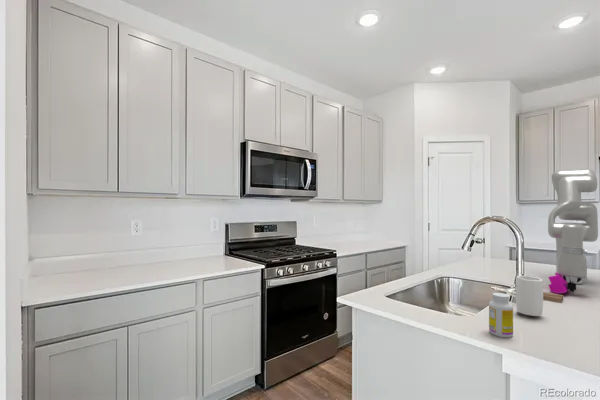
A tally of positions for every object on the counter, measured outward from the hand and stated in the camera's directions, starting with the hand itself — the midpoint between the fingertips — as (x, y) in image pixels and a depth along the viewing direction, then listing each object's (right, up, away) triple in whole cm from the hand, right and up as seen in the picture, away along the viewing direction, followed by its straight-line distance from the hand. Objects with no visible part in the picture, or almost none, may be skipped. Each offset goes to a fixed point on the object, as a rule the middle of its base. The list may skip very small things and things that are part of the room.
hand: (571, 291), depth 146 cm
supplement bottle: (-60, -2, -42) cm, 73 cm away
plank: (-18, -2, -2) cm, 18 cm away
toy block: (-2, -1, +4) cm, 4 cm away
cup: (-38, -2, -26) cm, 46 cm away
